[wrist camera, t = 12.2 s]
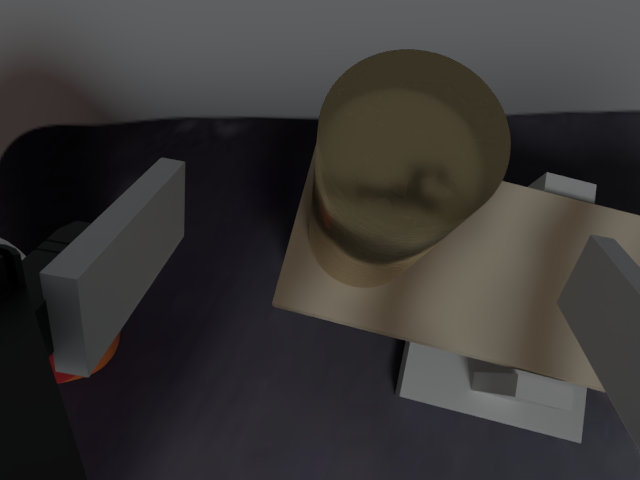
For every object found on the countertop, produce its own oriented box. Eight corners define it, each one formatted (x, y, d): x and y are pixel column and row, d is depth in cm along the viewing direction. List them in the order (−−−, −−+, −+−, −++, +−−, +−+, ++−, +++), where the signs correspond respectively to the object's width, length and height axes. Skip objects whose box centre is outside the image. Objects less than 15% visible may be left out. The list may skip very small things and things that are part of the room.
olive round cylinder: (439, 246, 27) (550, 158, 15) (351, 310, 26) (397, 267, 14) (374, 162, 28) (429, 18, 16) (287, 220, 27) (279, 110, 15)
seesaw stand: (592, 219, 37) (672, 180, 29) (568, 439, 33) (653, 463, 25) (329, 152, 37) (338, 95, 29) (272, 363, 33) (266, 362, 25)
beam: (785, 272, 30) (895, 252, 25) (784, 440, 28) (906, 459, 22) (316, 154, 31) (321, 108, 25) (274, 308, 28) (269, 295, 23)
